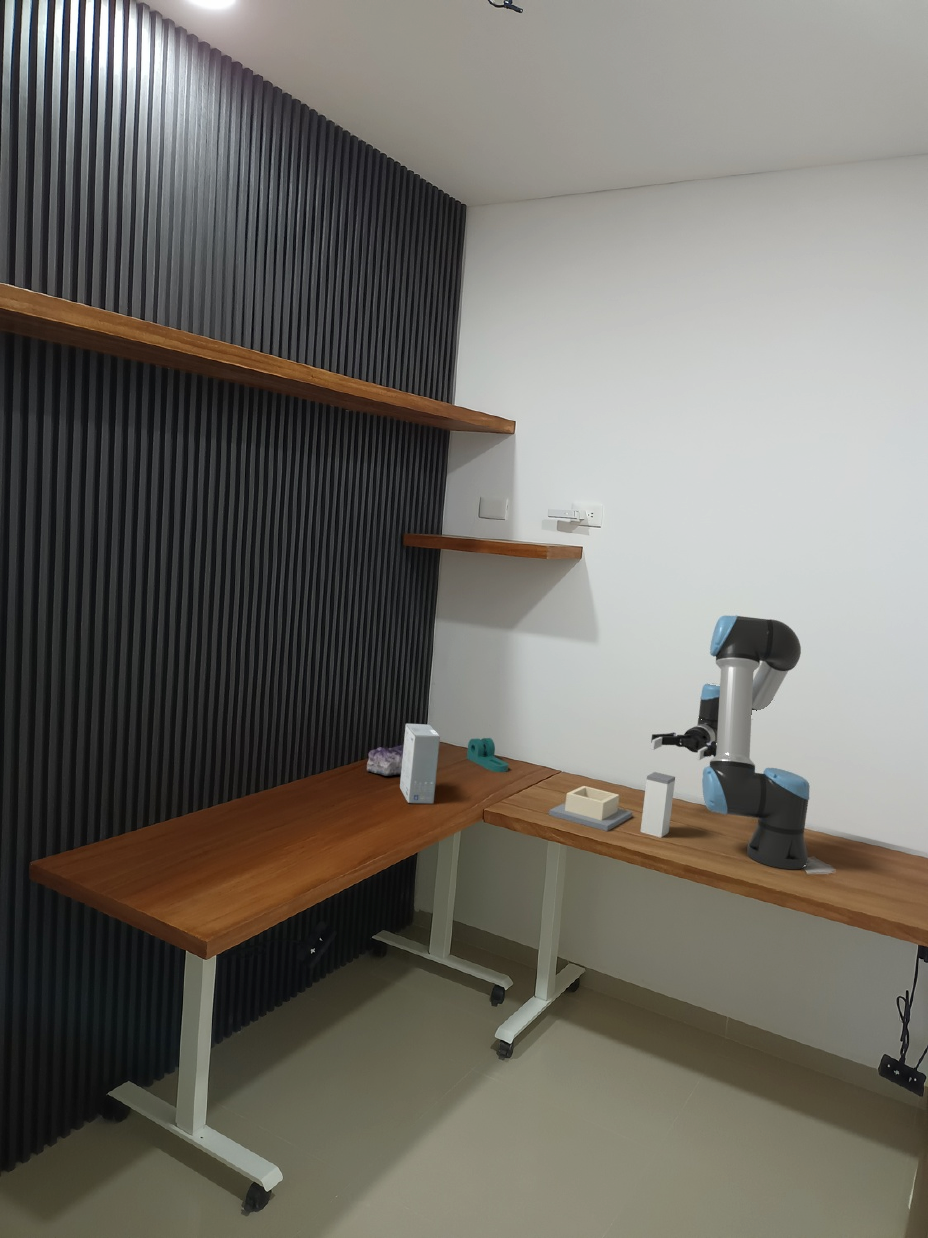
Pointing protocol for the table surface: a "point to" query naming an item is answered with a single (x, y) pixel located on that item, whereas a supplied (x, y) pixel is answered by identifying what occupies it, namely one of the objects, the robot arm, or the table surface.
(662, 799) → the white grey-topped block
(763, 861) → the robot arm
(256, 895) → the table surface
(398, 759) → the geode
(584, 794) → the holder
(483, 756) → the bracket
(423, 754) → the hard drive box
